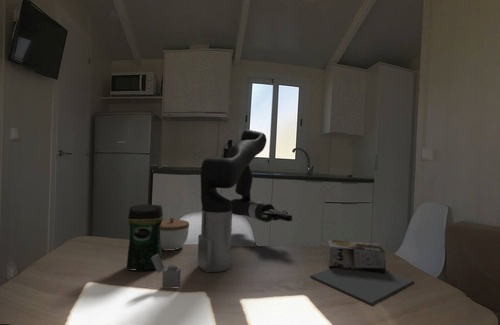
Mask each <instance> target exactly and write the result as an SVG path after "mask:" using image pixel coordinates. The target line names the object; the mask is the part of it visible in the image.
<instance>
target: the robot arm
mask: <svg viewBox="0 0 500 325" xmlns="http://www.w3.org/2000/svg"><path fill="white" fill-rule="evenodd" d="M266 145H267V136H266V134H265V133H264V132H262V131H256V130H253V129H251V130H250V129H244V131H243V132H242V135H241V138H240V140H239V141H237V142H235V143H233V145H232V146H230V147H229V150H228V152H227V157H207V158H204V159H203V161H202V164H201V168H200V202H201V233H200V234H198V236H197V237H198V240H197V242H198V243H197V267H198V266H199V267H198V268H199V269H200V270H202V271H204V272H205V273H219V272H224V271H227V270H229V269H230V268H231V260H232V257H231V256H232V232H233V231H232V228H233V225H232V224H233V215H235V216H246V217H249V218H251V219H254V220H256V221H261V222H264V223H269V222H272V221H285V222H292V221H293V215H292V214H289V212H288V210H280V209H277V208H275V206H273V204H272V203H266V202H261V201H254V200H251V199H252V198H251V189H252V185H253V173H252V170H251V167H250V165H249V164H250V163H251V162H252V161H253V160H254V159H255V157H257V156H258V155H259V154H261V152H263V151H264V149H265V148H266ZM233 187H235V190H234V191H235V193H236V194H237V195H240V196H241V198H233V199H231V200H230V199H229V198H226V197H225V196H223V195H221V194H220V193H219V192H218V190H217V189H230V188H231V189H232V188H233Z"/></svg>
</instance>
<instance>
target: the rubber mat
mask: <svg viewBox="0 0 500 325" xmlns="http://www.w3.org/2000/svg"><path fill="white" fill-rule="evenodd" d="M309 277H310V278H312V279H314V280H316V281H318V282H320V283H322V284H325V285H326V286H329V287H331V288H333V289H335V290H337V291H340V292H341V293H344V294H347V295H348V296H350V297H353V298H355V299H357V300H359V301H361V302H363V303H366V304H367V305H370V306H373V305H375V304H376V303H378V302H380V301H382V300H384V299H387V297H389V296H391V295H394V294H395V293H396V292H399V291H401V290H403V289H404V288H406V287H408V286H411V285H412V284H413V283H414V282H415V280H413V279H410V278H407V277H404V276H401V275H398V274H395V273H392V272H389V271H386V270H385V273H381V272H373V271H365V270H357V269H348V268H340V267H332V268H329V269H325V270H322V271H320V272H316V273H314V274H311V275H310V276H309Z"/></svg>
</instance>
